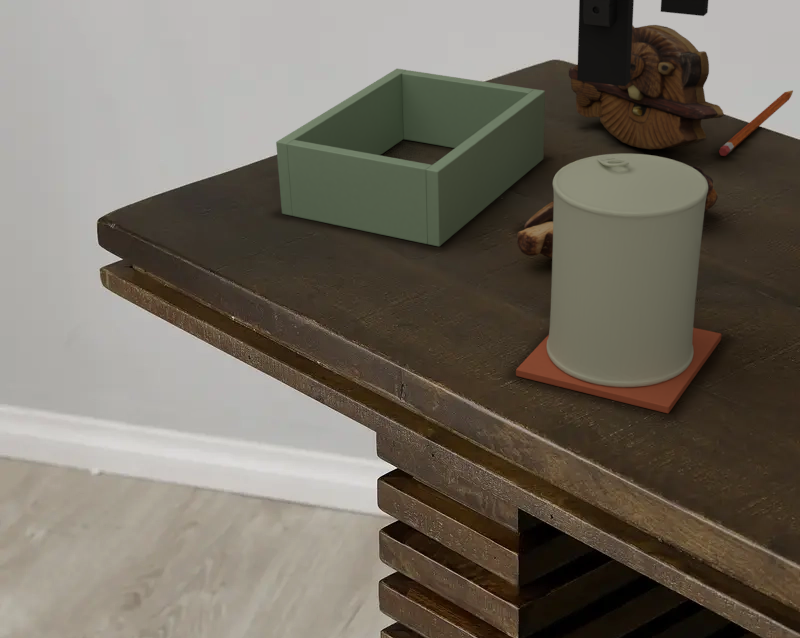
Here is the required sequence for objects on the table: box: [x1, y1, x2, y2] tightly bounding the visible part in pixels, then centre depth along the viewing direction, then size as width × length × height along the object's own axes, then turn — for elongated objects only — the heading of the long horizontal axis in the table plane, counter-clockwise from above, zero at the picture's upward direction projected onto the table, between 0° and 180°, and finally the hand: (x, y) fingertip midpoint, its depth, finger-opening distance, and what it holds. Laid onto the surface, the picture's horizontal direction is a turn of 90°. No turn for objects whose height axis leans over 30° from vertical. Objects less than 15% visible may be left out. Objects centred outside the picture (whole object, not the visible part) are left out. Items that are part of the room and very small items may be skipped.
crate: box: [275, 68, 546, 247], centre depth 111 cm, size 14×19×6 cm
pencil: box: [718, 90, 794, 157], centre depth 122 cm, size 1×18×1 cm, turn 148°
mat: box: [515, 327, 723, 414], centre depth 88 cm, size 10×10×1 cm
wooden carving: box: [568, 24, 725, 150], centre depth 117 cm, size 16×5×10 cm, turn 40°
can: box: [547, 153, 708, 387], centre depth 85 cm, size 9×9×12 cm
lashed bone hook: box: [516, 165, 719, 258], centre depth 103 cm, size 9×5×18 cm
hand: (646, 45), depth 79 cm, fingers open, 13 cm apart
